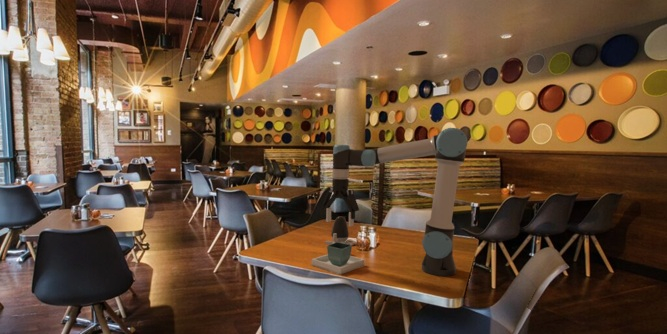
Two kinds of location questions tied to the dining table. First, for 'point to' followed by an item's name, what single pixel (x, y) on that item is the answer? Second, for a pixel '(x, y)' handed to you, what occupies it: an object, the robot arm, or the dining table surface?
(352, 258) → the tray
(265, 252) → the dining table surface
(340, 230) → the egg in egg cup
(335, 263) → the flower pot
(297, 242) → the dining table surface
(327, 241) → the pipe connector
